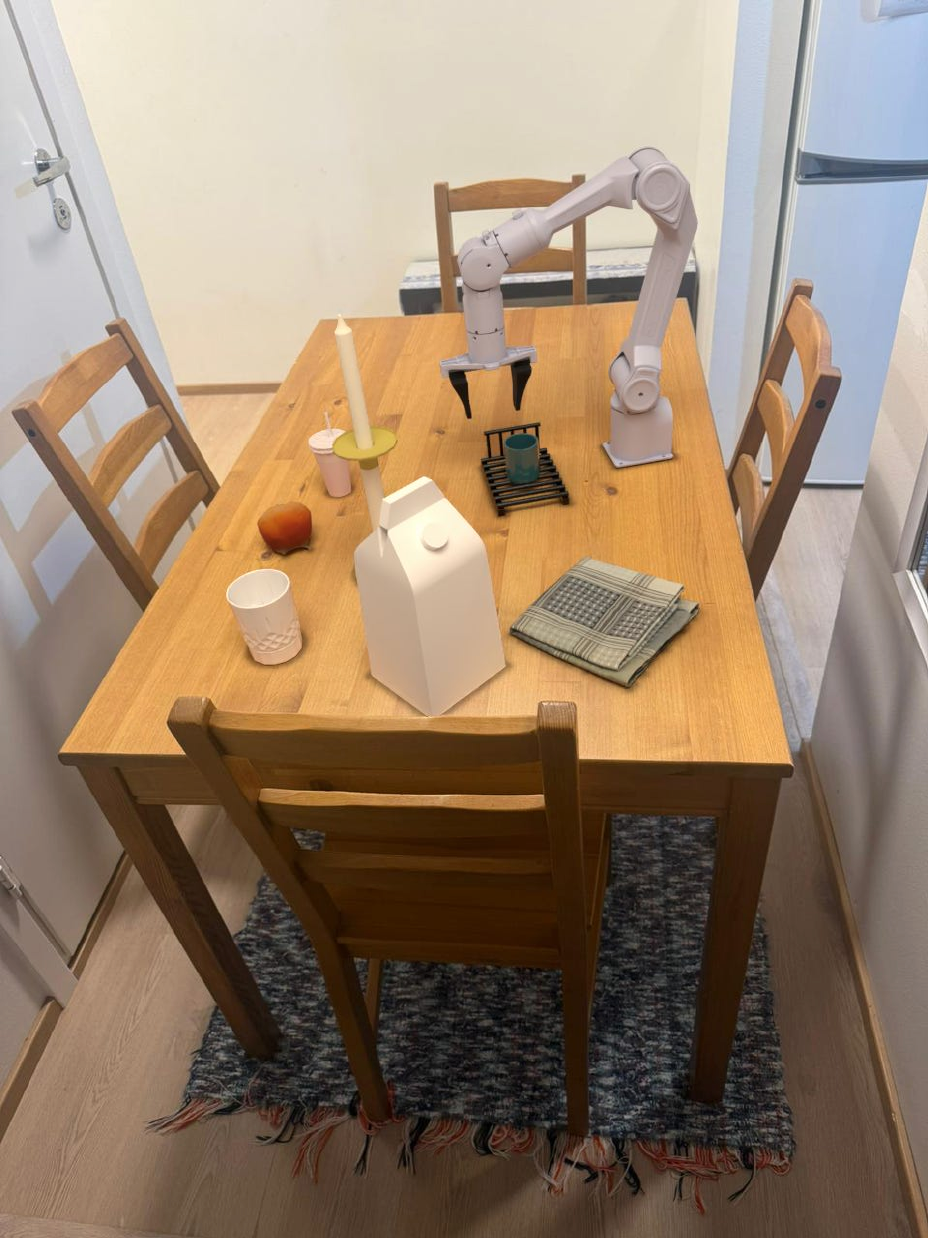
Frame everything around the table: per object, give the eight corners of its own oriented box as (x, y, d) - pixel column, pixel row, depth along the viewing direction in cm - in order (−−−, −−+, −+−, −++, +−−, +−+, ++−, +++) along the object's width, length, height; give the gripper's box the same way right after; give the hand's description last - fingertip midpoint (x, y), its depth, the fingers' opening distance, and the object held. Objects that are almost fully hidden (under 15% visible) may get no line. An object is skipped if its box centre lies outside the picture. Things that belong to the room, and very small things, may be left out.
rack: (546, 456, 145) (545, 419, 141) (569, 504, 133) (568, 465, 129) (481, 468, 144) (477, 431, 140) (498, 516, 133) (494, 477, 129)
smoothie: (352, 502, 140) (335, 422, 131) (315, 501, 142) (295, 422, 133) (364, 480, 145) (348, 403, 136) (327, 480, 147) (309, 403, 138)
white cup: (250, 632, 117) (230, 573, 111) (308, 624, 117) (291, 564, 111) (244, 672, 111) (222, 612, 105) (305, 664, 111) (287, 603, 105)
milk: (443, 627, 114) (415, 449, 98) (505, 666, 107) (487, 482, 91) (371, 675, 108) (329, 496, 92) (432, 720, 101) (398, 535, 85)
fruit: (276, 563, 127) (255, 511, 125) (268, 563, 134) (249, 514, 133) (328, 544, 129) (308, 492, 128) (318, 545, 137) (299, 496, 135)
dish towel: (504, 636, 111) (503, 617, 109) (583, 565, 121) (583, 546, 119) (631, 694, 101) (632, 674, 99) (706, 611, 111) (708, 591, 109)
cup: (535, 463, 140) (534, 430, 136) (543, 480, 136) (541, 446, 132) (503, 469, 140) (500, 436, 136) (509, 485, 135) (507, 452, 132)
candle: (435, 554, 127) (396, 295, 103) (404, 596, 120) (354, 329, 96) (375, 544, 131) (324, 291, 107) (341, 583, 124) (279, 323, 100)
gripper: (439, 345, 125) (450, 431, 133) (539, 328, 125) (544, 415, 134) (433, 327, 130) (444, 410, 139) (529, 311, 131) (534, 395, 139)
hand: (492, 411), depth 137 cm, fingers open, 7 cm apart
